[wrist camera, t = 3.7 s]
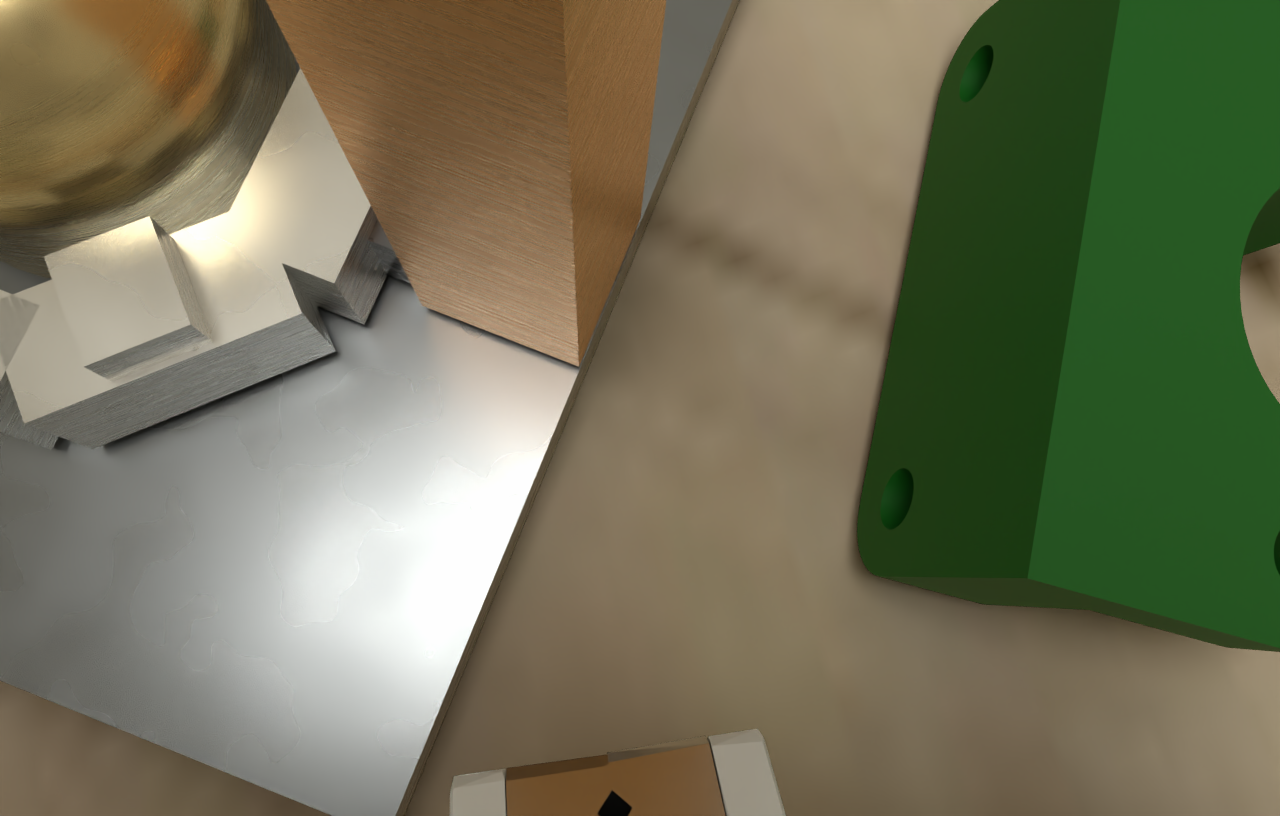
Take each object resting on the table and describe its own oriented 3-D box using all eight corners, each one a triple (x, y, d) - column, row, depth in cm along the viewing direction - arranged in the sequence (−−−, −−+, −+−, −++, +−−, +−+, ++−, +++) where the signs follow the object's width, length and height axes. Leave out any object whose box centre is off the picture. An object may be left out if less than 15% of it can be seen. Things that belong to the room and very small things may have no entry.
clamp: (1026, 553, 26) (1316, 774, 17) (790, 486, 25) (979, 690, 16) (1245, 35, 24) (1704, -7, 15) (999, -71, 22) (1350, -183, 14)
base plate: (-608, 412, 21) (-1262, 291, 13) (-74, -427, 25) (-353, -873, 17) (401, 822, 20) (292, 930, 13) (783, -107, 24) (867, -432, 17)
